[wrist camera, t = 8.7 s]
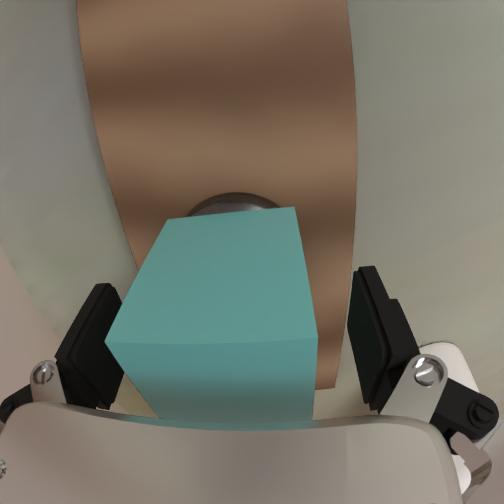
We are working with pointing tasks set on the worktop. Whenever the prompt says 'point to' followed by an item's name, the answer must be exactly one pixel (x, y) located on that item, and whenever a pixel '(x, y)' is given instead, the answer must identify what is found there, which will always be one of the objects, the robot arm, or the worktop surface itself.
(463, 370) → the pill bottle
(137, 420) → the robot arm
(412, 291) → the worktop surface
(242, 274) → the matte teal square block
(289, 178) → the board
